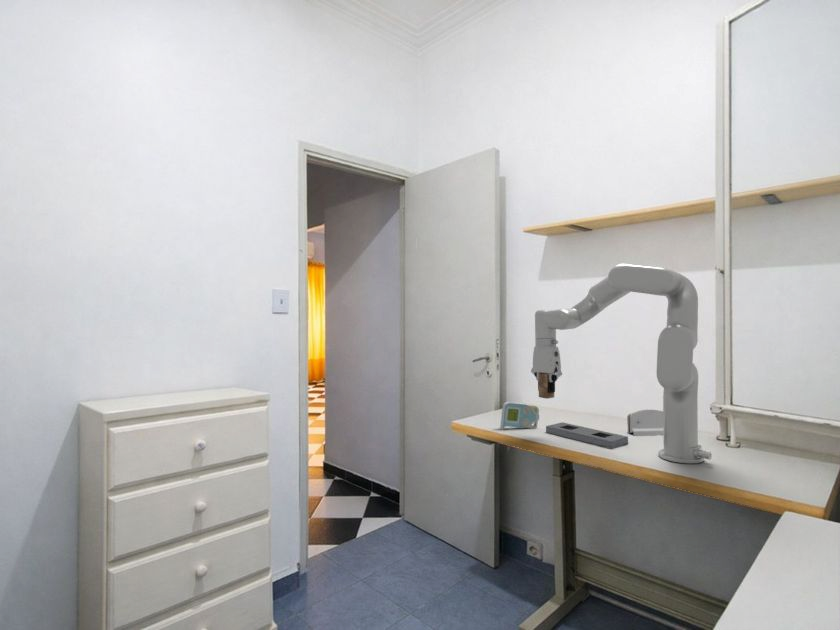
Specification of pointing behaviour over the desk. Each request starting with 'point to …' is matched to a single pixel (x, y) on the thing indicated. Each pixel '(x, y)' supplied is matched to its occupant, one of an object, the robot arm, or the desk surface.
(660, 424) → the grey curved-top block
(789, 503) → the desk surface
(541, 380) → the walnut block
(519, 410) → the handheld gaming console
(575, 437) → the grey slotted board
